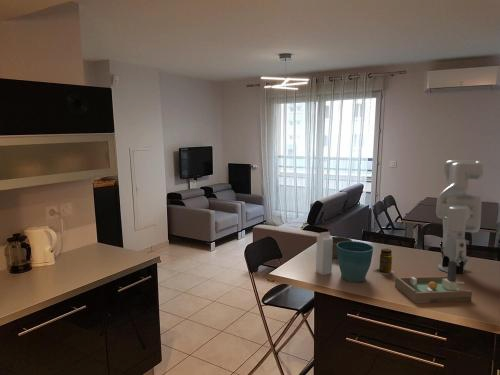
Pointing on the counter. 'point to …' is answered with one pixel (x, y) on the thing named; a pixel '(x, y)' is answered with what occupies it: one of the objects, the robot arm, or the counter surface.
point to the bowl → (336, 241)
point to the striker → (451, 277)
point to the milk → (324, 253)
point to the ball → (432, 285)
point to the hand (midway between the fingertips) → (452, 270)
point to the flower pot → (354, 259)
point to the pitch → (429, 290)
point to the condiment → (385, 262)
